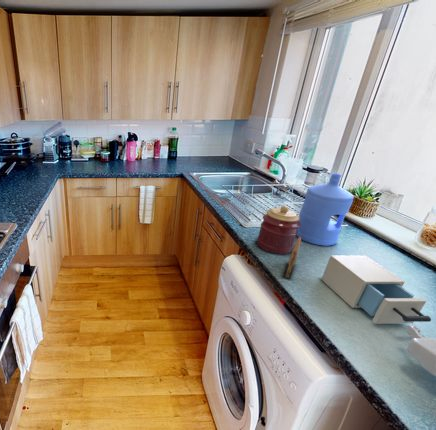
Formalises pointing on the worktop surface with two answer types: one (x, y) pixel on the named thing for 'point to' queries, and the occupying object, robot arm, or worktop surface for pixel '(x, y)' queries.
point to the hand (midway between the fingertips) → (427, 327)
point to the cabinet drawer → (391, 304)
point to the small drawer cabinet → (355, 276)
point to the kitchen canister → (278, 230)
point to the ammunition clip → (292, 259)
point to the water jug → (324, 212)
